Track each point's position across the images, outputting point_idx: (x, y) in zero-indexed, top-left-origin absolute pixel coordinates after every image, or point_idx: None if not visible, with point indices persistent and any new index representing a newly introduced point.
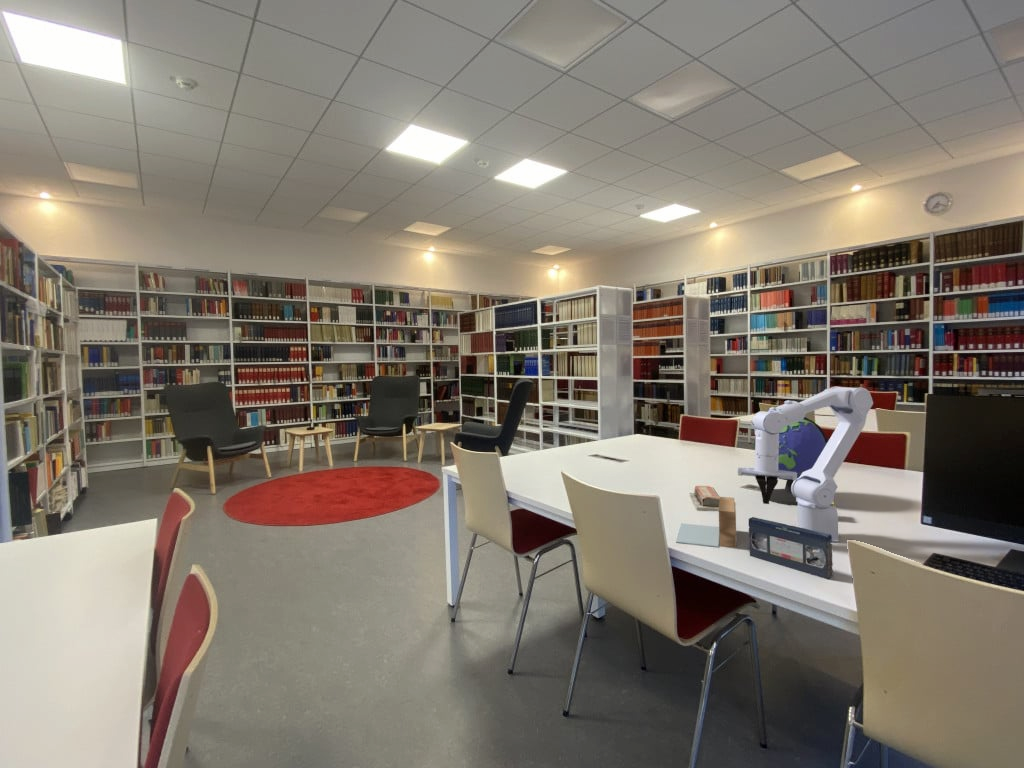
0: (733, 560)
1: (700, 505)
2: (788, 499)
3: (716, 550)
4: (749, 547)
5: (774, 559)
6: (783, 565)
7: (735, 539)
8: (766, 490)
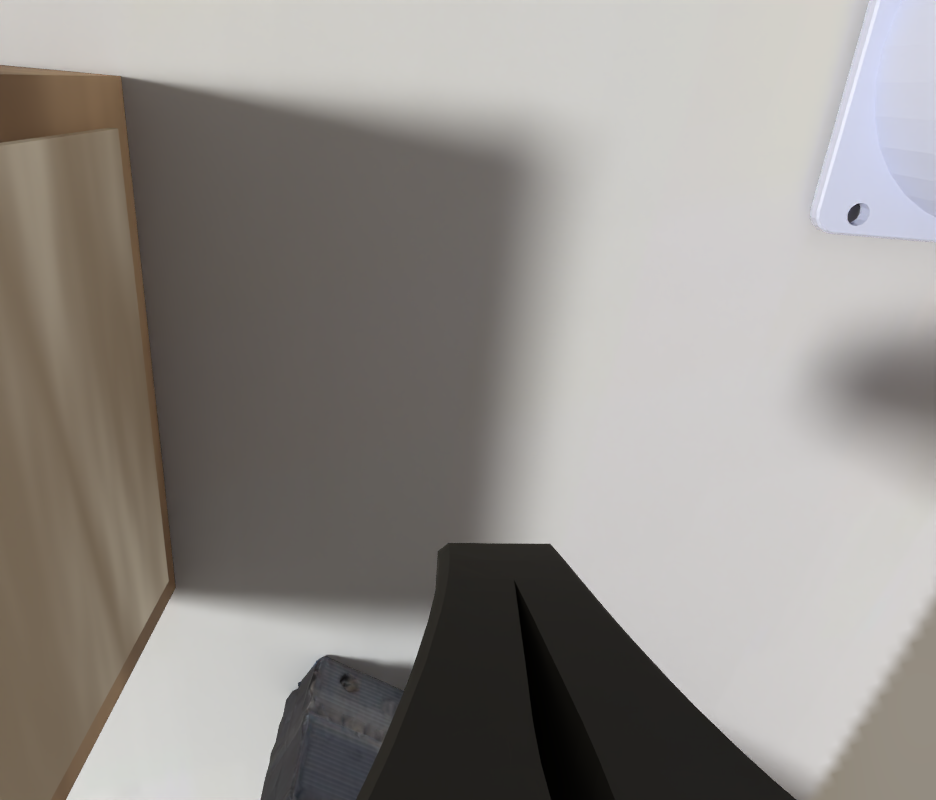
0: (178, 784)
1: None
2: None
3: None
4: (272, 759)
5: None
6: None
7: (144, 645)
8: (583, 791)
